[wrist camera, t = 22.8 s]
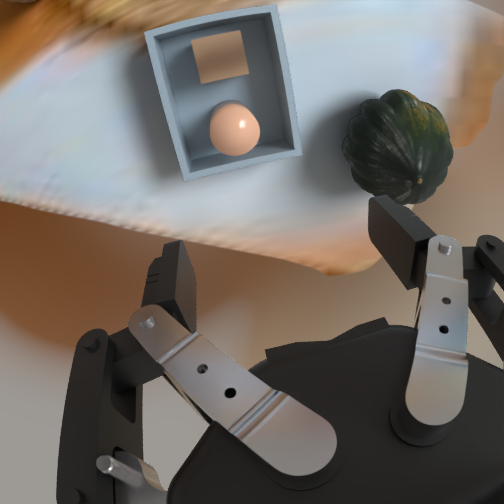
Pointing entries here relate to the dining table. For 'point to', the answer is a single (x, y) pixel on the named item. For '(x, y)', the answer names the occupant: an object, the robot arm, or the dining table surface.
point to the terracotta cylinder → (233, 128)
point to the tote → (226, 89)
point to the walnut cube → (220, 56)
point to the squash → (398, 147)
